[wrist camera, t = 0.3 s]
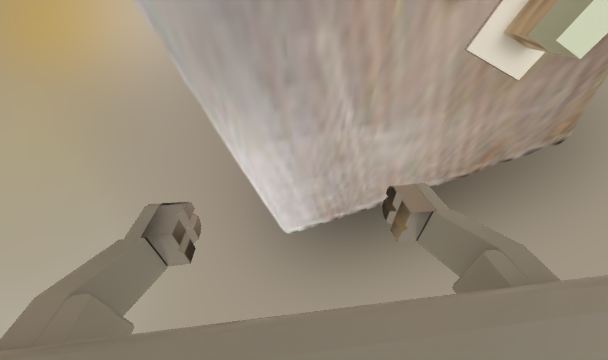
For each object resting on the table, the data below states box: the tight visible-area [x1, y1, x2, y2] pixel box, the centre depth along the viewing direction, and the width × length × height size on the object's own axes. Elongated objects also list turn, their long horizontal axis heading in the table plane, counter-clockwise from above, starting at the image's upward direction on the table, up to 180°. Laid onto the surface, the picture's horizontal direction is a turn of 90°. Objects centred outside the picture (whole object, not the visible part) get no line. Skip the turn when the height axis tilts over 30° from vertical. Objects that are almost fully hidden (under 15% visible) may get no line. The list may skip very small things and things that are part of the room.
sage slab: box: [528, 0, 608, 59], centre depth 35 cm, size 8×8×5 cm
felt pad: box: [466, 0, 545, 80], centre depth 41 cm, size 18×18×1 cm
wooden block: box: [504, 0, 558, 53], centre depth 39 cm, size 8×8×5 cm
